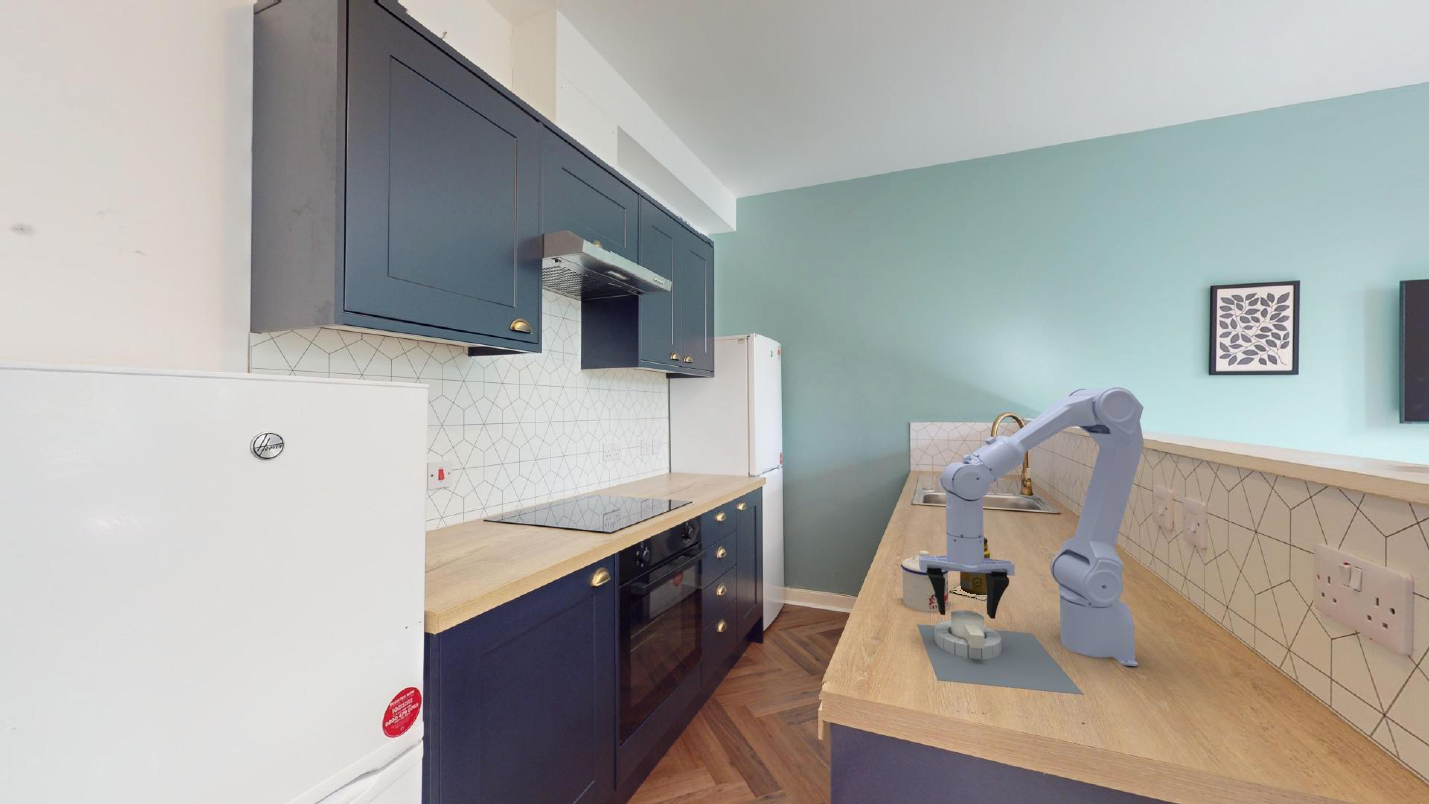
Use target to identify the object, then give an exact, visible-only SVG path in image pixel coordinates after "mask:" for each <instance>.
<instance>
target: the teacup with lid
mask: <svg viewBox="0 0 1429 804" xmlns="http://www.w3.org/2000/svg"><path fill="white" fill-rule="evenodd" d="M919 556H931V554H930V551H928V550H920V551H919V552H918V554H917V555H914V556H913V557H909V558H905V559H904V560H902V562H901V564H900V567H901V570H902V571H901V572H902V573H901V574H902V577H901V578H902V604H903V605H904V606H906V607H908V608H910V609H912V610H915V611H918V612H924V613H940V612H939V609H938V603H937V599H936V595H935V592H934V589H933V586H932V584H931V581H930V579H929V577H928V574H927V572H926V571H921V570H920V568H919ZM942 572H943V576H944V578H945V591H944V599H945V611H947V610H948V609H949V608H950V607H949V606H950V605H949V575H948V573H949V572H950V571H942Z"/></svg>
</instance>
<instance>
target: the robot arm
mask: <svg viewBox="0 0 1429 804" xmlns="http://www.w3.org/2000/svg"><path fill="white" fill-rule="evenodd" d="M1143 410H1144V405H1143V404H1142V403H1141V402H1140V401H1139V400H1138V399H1137V397H1136V396H1135V395H1134V394H1133V392H1132V391H1130V390H1129V389H1127V388H1124V387H1122V386H1112V387H1111V386H1110V387H1108V388H1092V389H1091V388H1089V389H1087V388H1079V389H1075V390H1073V391H1071V392H1069V393H1068V394H1067V395H1065V396H1063V397H1061V398H1059V399H1057V400H1056V401H1055V402H1054V403H1053V404H1052V405H1051V406H1050V407H1048V408H1047V409H1046V410H1044V411H1043V412H1042V413H1040V414H1039V415H1038V416H1036V417H1035V418H1033V419H1032V420H1031V421H1030V422H1028V423H1026V424H1025V425H1024V426H1023V427H1021V428H1020V429H1019V430H1018V431H1016V432H1015V433H1014V434H1012V435H1011V436H1005V435H998V436H996V437H995V436H989V437H988V438H986V439H984V442H985V444H984V445H982V446H981V447H980V448H978V449H976V450H975V451H973V452H971V454H968V453H966V454H964V455H963V456H962V457H961V459H962V462H960V461H958V462H957V461H956V462H952V463H949V464H948V465H946V467H945V468H944V469H943V472H942V473H941V476H939V484H940V486H941V487H942V489H943V490H944V491H945V527H946V528H945V532H946V535H945V537H946V555H934V556H933V555H930V556H919V568H920V570H921V571H926V572H927V574H928V577H929V579H930V581H931V584H932V586H933V589H934V592H935V595H936V599H937V603H938V609H939V612H938V613H939V614H940V615H941V616H946V610H945V599H944V591H945V578H944V576H943V572H942V571H949V572H959V573H960V572H978V573H985V576H986V585H987V599H986V614H987V616H988V617H989V618H990V619H992V620H995V619H996V616H997V611H998V608H999V607H998V606H999V604H1000V601H1001V599H1002V596H1003V594H1004V593H1005V591H1006V590H1007V588H1008V587H1009V585H1010V578H1009V577H1010V576H1011V577H1013V576H1015V573H1016V572H1015V564H1014V563H1013V562H1012V561H1011V560H1003V559H995V558H990V559H988V558H984V537H985V535H984V498H983V497H986V495H987V494H988V492H989V490H990V488H991V485H992V484H994V483H995V482H997V481H998V480H999V479H1001V478H1002V477H1004V476H1006V475H1007V474H1008V473H1011V472H1012V471H1013V470H1015V469H1016V468H1019V466H1021V465H1023V463H1024V461H1025V456H1026V452H1028V451H1030V450H1031V449H1033V448H1035V447H1037V446H1039V445H1040V444H1041V443H1043V442H1046V441H1047V440H1049V439H1051V438H1052V437H1054V436H1055V435H1057V434H1059V433H1060V432H1062V431H1064V430H1065V429H1067V428H1072V427H1075V428H1076V427H1079V428H1080V429H1081V430H1083V431H1084V432H1086V433H1087V434H1088V435H1089V436H1090V437H1091V438H1092V440H1093V441H1094V442H1095V443H1096V445H1097V446H1098V447H1099V450H1098V452H1097V457H1096V459H1095V462H1094V463H1095V464H1094V466H1093V470H1092V474H1091V478H1090V480H1089V485H1088V487H1087V492H1086V495H1085V498H1084V502H1083V506H1082V509H1081V511H1080V512H1081V513H1080V516H1079V519H1078V523H1077V527H1076V529H1075V533H1074V535H1073V536H1072V537H1070V538H1068V539H1066V540H1065V541H1064V542H1062V545H1061V548H1060V550H1059V552H1058V553H1057V554H1056V555H1055V556H1054V558H1053V559H1052V561H1051V563H1050V568H1049V569H1050V574H1051V577H1052V578H1053V580H1054V581H1055V582H1056V583H1057V584H1058V592H1059V615H1060V616H1059V619H1060V620H1059V621H1060V622H1059V623H1060V624H1059V625H1060V644H1061V645H1062V646H1063V647H1064V648H1066V649H1067V650H1069V651H1071V652H1074V653H1075V654H1076V653H1077V654H1079V655H1083V656H1087V657H1093V658H1114V659H1115V660H1117V661H1118V662H1119V664H1121V665H1123V666H1129V667H1130V666H1131V667H1132V666H1133V667H1138V666H1139V663H1138V662H1137V661H1136V650H1135V649H1136V648H1135V647H1136V646H1135V645H1136V643H1135V639H1136V638H1135V623H1134V618H1133V614H1132V612H1131V609H1130V608H1129V606H1128V605H1127V604H1126V603H1125V602H1123V601H1122V600H1120V598H1121V597H1122V595H1123V593H1124V581H1123V578H1122V577H1123V576H1122V573H1123V568H1124V563H1123V561H1122V559H1121V558H1120V555H1119V554H1118V552H1117V551H1116V543H1117V540H1118V537H1119V533H1120V529H1121V526H1122V524H1123V523H1122V522H1123V519H1124V516H1125V512H1126V508H1127V505H1128V502H1129V497H1130V496H1131V495H1130V494H1131V491H1132V488H1133V484H1134V481H1135V478H1136V473H1137V470H1138V466H1139V463H1140V460H1141V456H1142V454H1143V449H1144V445H1145V443H1144V437H1143V432H1142V431H1143V430H1142V426H1141V418H1142V414H1143ZM1008 576H1009V577H1008Z"/></svg>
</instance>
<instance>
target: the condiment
mask: <svg viewBox="0 0 1429 804" xmlns="http://www.w3.org/2000/svg"><path fill="white" fill-rule="evenodd" d="M988 548H989V545H988V538H987V537H985V536H984V558H988V559H991V554H990V550H989V549H988ZM959 582H960V583H959V585H960V586H961V589H962V590H963V591H965V592H967V593H970V594H976V595H987V585H986V576H985V573H978V572H960V571H959ZM956 587H957V586H955V587H954V588H956ZM950 591H951V592H950ZM952 591H957V590H952V589H950V590H948V593H949V592H950V593H953V592H952ZM966 597H967V598H969V597H968V596H966ZM971 597H977V596H971ZM971 597H970V598H971ZM978 597H980V596H978ZM974 599H976V598H974ZM976 600H981V601H985V600H987V596H981V598H977V599H976Z"/></svg>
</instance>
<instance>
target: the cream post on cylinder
mask: <svg viewBox="0 0 1429 804" xmlns="http://www.w3.org/2000/svg"><path fill="white" fill-rule="evenodd" d="M950 621H951V635H953V636H955V637H957V638H960V639H964V640H967V642H968V643H969V645H970V647H971V648H982V649H985V639H984V626H985V617H984V616H983V615H982V614H981V613H978V612H977V611H974V610H973V611H972V610H968V609H955V610H952V611H951V612H950Z"/></svg>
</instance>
